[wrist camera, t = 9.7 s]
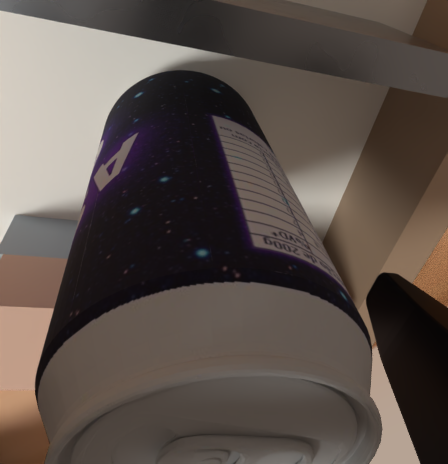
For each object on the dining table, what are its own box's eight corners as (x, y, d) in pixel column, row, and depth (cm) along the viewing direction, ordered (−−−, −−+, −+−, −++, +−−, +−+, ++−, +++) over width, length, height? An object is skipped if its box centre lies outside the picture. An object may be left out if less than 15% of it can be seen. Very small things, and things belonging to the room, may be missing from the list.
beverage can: (122, 39, 13) (28, 317, 4) (278, 91, 15) (495, 374, 5) (93, 186, 16) (0, 552, 7) (226, 215, 18) (305, 542, 8)
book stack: (282, 307, 22) (310, 391, 18) (22, 294, 19) (-13, 390, 15) (309, 242, 19) (348, 322, 15) (15, 214, 16) (-31, 304, 12)
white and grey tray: (311, 300, 24) (347, 385, 19) (-32, 280, 20) (-87, 383, 15) (454, -12, 15) (583, 12, 10) (-121, -167, 11) (-321, -240, 6)
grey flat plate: (367, 52, 14) (446, 98, 11) (0, -27, 12) (-81, -5, 8) (379, 22, 14) (467, 57, 10) (-4, -68, 11) (-92, -69, 7)
